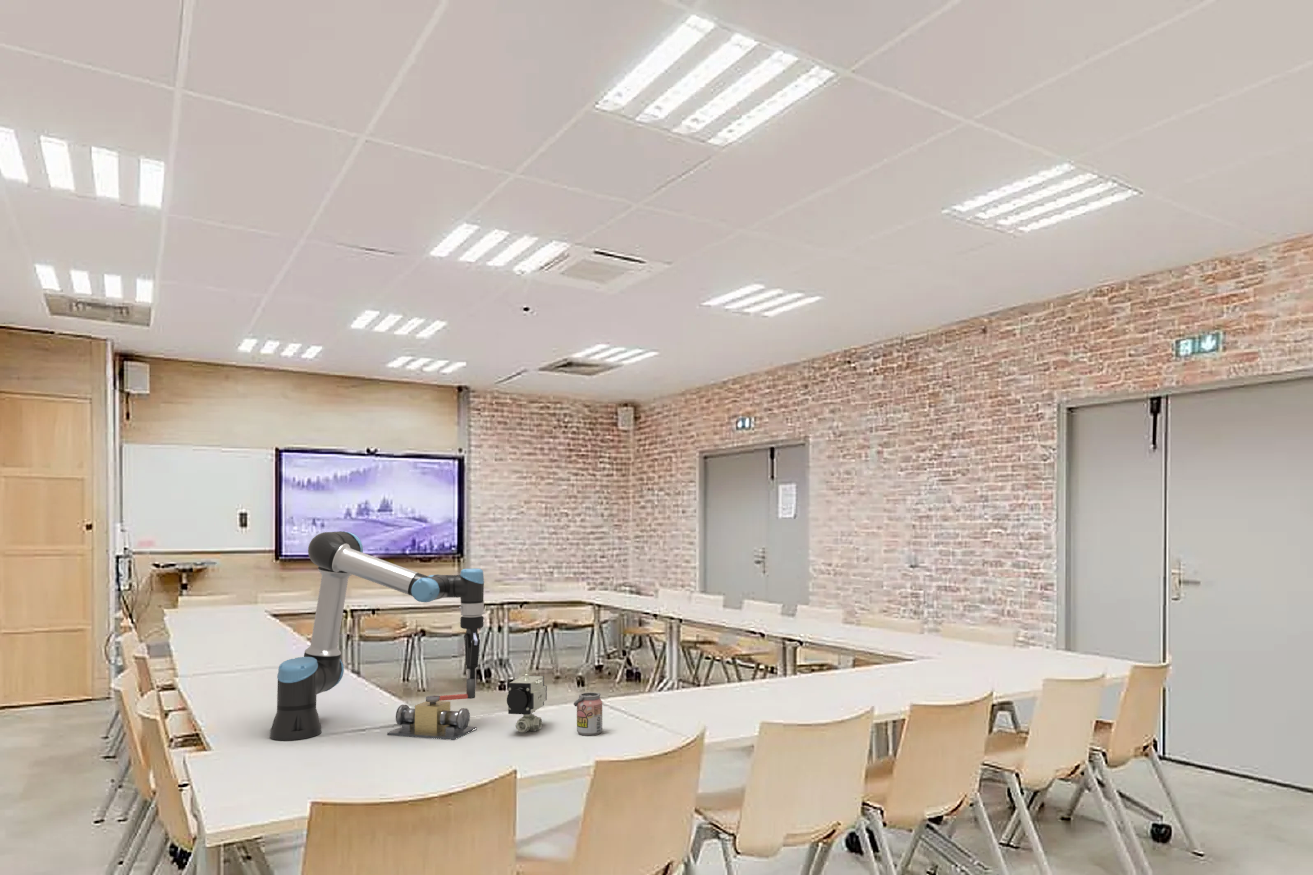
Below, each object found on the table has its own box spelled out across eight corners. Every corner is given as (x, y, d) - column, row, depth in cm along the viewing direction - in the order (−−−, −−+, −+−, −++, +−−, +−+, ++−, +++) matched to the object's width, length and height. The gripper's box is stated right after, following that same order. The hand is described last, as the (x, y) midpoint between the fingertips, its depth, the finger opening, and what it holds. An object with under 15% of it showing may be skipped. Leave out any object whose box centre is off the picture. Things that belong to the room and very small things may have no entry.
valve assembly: (387, 735, 270) (387, 704, 271) (412, 725, 283) (412, 695, 284) (454, 740, 263) (454, 708, 264) (476, 729, 276) (476, 699, 277)
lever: (426, 702, 271) (426, 683, 272) (425, 699, 276) (425, 680, 276) (475, 698, 276) (476, 679, 277) (474, 696, 281) (474, 677, 281)
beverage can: (568, 733, 270) (568, 694, 272) (588, 728, 277) (588, 690, 278) (588, 737, 264) (588, 698, 265) (608, 732, 270) (607, 693, 271)
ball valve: (531, 738, 265) (531, 679, 266) (505, 737, 266) (505, 678, 268) (549, 724, 282) (549, 669, 284) (525, 723, 284) (525, 669, 286)
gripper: (456, 614, 287) (456, 685, 285) (464, 618, 275) (464, 693, 273) (478, 613, 290) (478, 683, 288) (487, 617, 278) (487, 690, 276)
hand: (471, 688), depth 280 cm, fingers closed
